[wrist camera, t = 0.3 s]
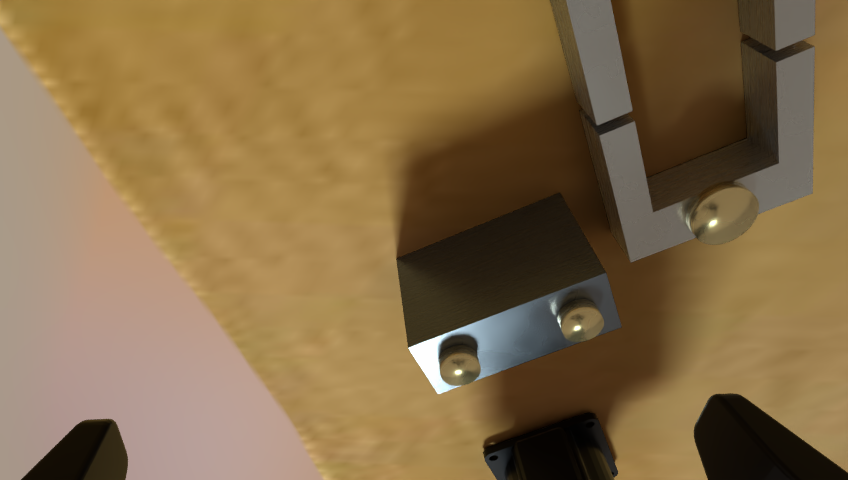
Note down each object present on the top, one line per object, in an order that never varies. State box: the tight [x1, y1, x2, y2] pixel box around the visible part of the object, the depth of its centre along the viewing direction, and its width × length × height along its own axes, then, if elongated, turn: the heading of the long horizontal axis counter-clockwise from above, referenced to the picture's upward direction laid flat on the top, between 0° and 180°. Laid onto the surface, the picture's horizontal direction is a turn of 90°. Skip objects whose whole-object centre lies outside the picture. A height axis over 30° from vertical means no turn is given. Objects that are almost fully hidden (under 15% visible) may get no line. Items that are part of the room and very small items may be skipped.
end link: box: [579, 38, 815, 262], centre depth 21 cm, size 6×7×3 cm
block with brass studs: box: [396, 193, 622, 394], centre depth 22 cm, size 7×3×6 cm, turn 112°
